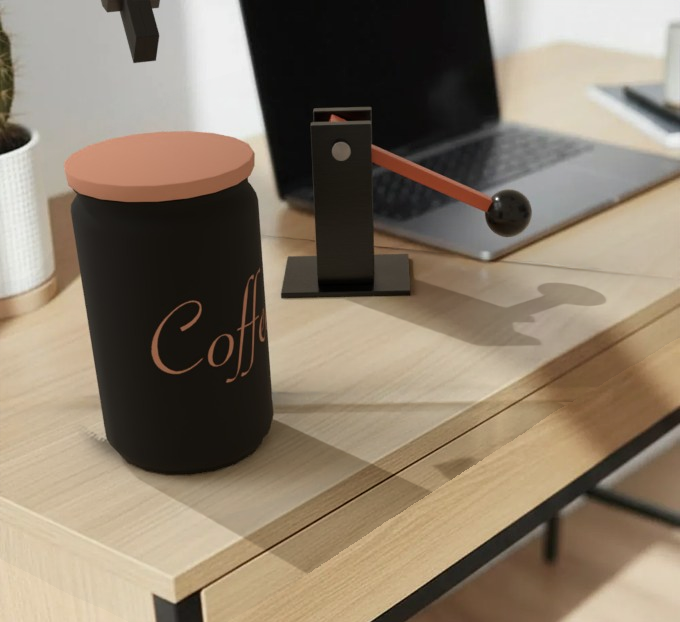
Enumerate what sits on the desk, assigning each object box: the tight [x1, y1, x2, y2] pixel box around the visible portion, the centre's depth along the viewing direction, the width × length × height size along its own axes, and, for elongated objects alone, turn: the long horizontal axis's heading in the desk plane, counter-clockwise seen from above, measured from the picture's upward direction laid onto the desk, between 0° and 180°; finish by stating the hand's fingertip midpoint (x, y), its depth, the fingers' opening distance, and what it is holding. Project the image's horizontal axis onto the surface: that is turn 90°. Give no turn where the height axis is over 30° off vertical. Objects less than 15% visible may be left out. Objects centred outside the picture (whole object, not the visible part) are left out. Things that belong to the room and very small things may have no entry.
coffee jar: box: [63, 130, 274, 476], centre depth 72 cm, size 11×11×18 cm
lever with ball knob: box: [329, 114, 533, 238], centre depth 92 cm, size 17×4×4 cm, turn 88°
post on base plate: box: [280, 106, 411, 299], centre depth 93 cm, size 10×8×14 cm
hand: (146, 49), depth 77 cm, fingers closed
